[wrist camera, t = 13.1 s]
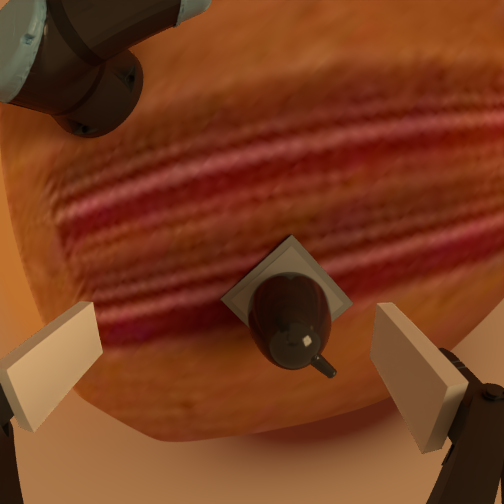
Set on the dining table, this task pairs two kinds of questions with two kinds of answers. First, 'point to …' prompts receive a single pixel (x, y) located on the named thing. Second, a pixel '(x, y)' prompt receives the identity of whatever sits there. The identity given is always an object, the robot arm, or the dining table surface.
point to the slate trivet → (285, 260)
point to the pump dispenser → (291, 321)
